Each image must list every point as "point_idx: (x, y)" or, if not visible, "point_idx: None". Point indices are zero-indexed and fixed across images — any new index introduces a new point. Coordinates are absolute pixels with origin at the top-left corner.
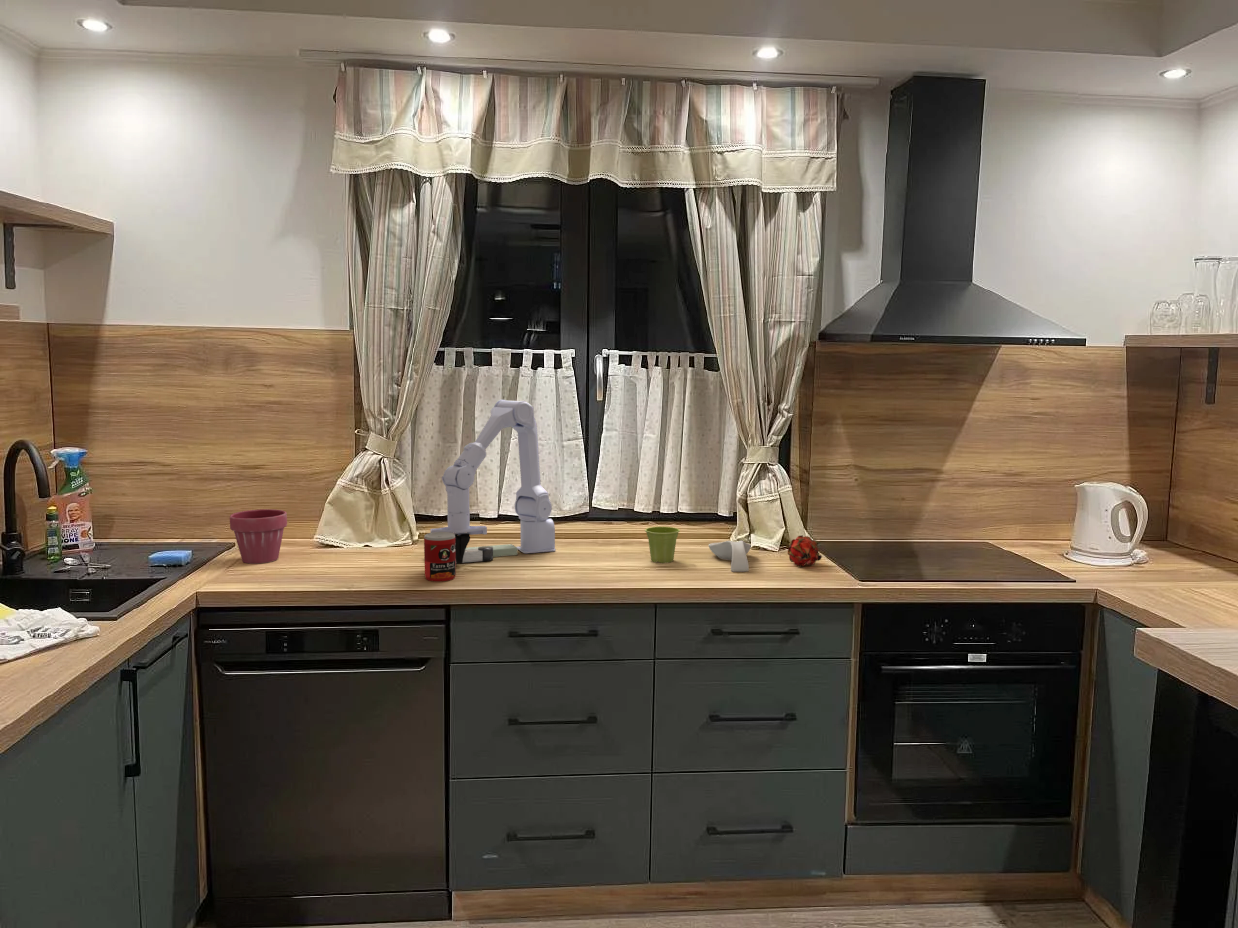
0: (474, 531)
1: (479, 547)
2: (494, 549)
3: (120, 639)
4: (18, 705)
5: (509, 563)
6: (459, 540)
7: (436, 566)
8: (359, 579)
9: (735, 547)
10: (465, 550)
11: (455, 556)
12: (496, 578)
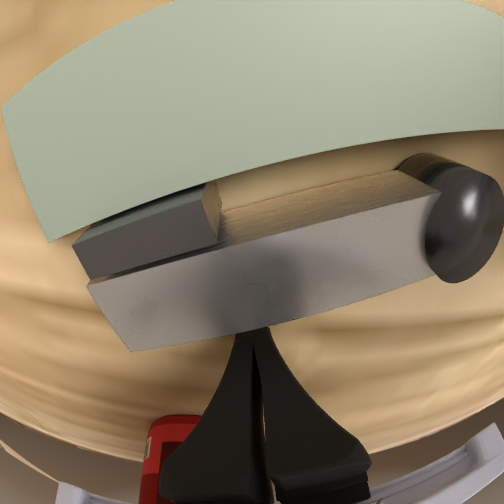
0: (410, 495)
1: (447, 210)
2: (500, 123)
3: (12, 450)
4: None
5: (473, 279)
6: (271, 497)
7: None
8: (12, 392)
9: None
10: (323, 252)
11: None
12: (356, 428)
